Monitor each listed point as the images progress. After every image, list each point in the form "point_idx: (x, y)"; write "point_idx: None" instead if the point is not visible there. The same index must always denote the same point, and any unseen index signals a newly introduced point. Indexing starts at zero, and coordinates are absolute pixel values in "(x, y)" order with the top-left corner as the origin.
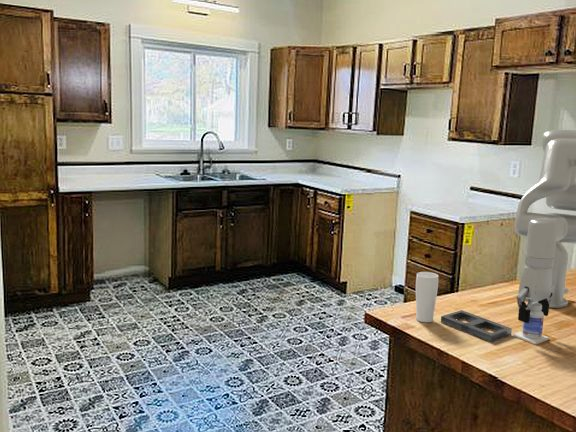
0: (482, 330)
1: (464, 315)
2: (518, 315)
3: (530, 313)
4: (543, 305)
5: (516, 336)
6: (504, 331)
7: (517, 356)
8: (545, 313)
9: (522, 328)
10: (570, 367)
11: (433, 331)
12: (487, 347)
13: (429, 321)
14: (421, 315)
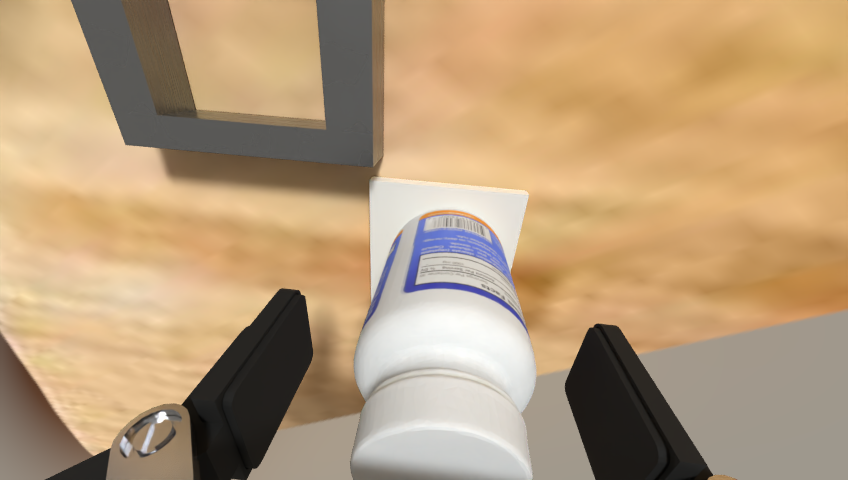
0: (116, 33)
1: None
2: (259, 314)
3: (361, 388)
4: (612, 459)
5: (371, 199)
6: (284, 157)
7: (189, 297)
8: (571, 399)
9: (413, 230)
10: (305, 422)
11: None
12: (103, 162)
13: None
14: None
